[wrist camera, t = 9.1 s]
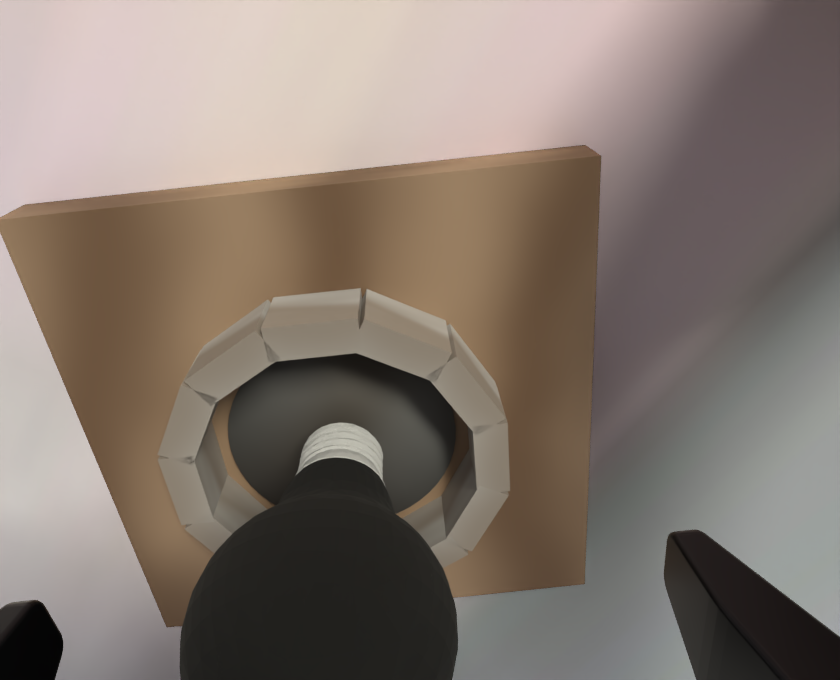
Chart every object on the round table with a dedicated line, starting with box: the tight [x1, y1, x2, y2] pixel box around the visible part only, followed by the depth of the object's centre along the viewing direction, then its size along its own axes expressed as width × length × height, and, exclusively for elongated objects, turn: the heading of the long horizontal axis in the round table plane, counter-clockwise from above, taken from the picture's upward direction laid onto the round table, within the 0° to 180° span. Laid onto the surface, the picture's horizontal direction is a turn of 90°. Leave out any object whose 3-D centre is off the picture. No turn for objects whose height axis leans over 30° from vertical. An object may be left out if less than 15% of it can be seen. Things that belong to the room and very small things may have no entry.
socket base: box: [0, 145, 601, 627], centre depth 20 cm, size 16×16×4 cm
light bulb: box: [180, 423, 458, 680], centre depth 15 cm, size 6×6×10 cm
